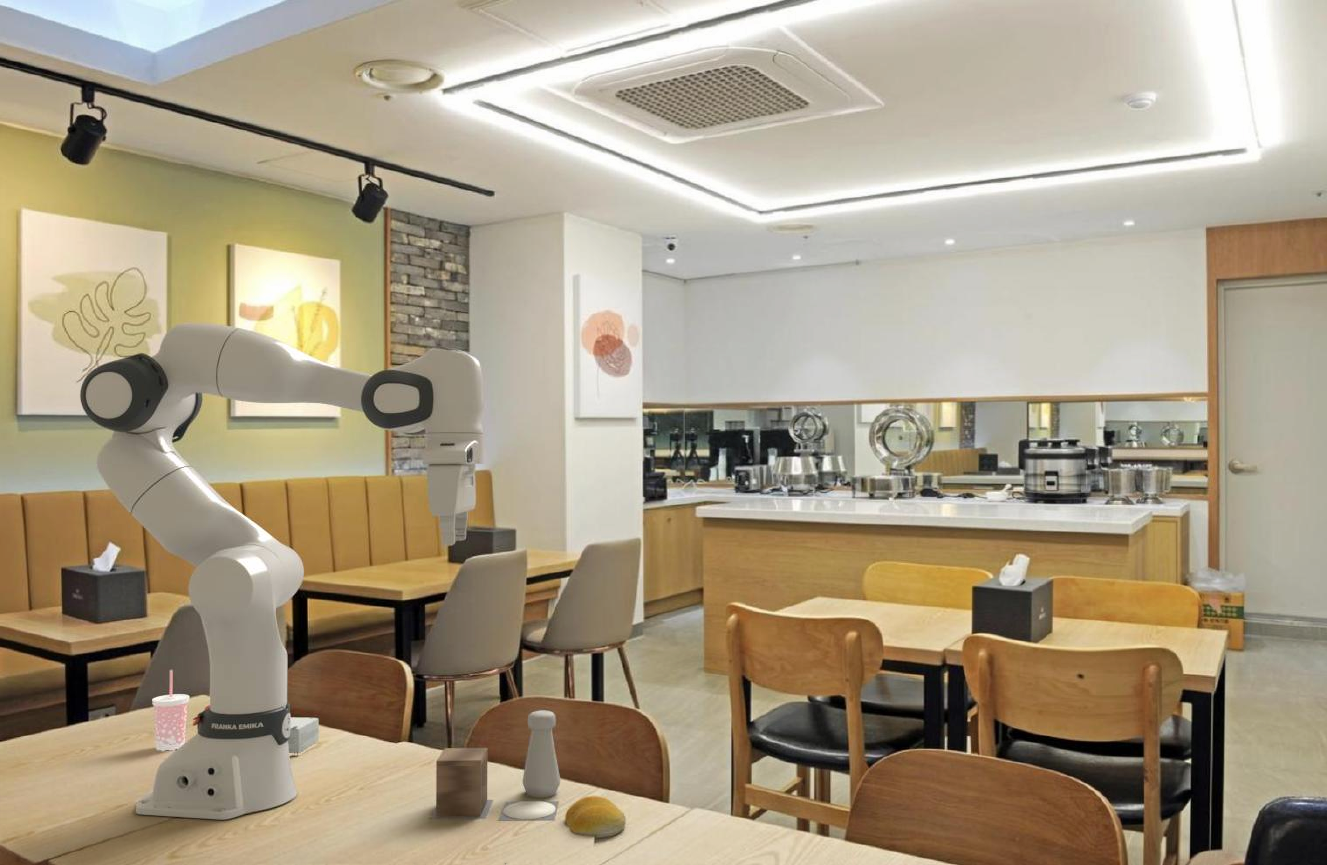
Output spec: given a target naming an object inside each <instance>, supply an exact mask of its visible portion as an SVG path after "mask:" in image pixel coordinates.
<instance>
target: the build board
mask: <svg viewBox="0 0 1327 865" xmlns="http://www.w3.org/2000/svg"><path fill="white" fill-rule="evenodd" d="M559 803H560V802H559V801H558V800H557V801H556V800H555V801H553V800H552V801H551V800H550V801H549V800H547V801H545V800H544V801H542V800H526V801H505V803H504V806H503V807H502V809H501V813H500V815H499V818H498V822H500V821H502V822H505V821H506V822H507V821H509V822H510V821H511V822H512V821H513V822H515V821H516V822H517V821H520V822H521V821H525V822H526V821H555V820H556V815H557V811H558V808H559V807H558V806H559Z"/></svg>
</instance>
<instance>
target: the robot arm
mask: <svg viewBox="0 0 1327 865" xmlns="http://www.w3.org/2000/svg"><path fill="white" fill-rule="evenodd" d="M483 379H484V378H483V372H482V366H481V363H480V361H479V359H478V358H477V356H475V355H474V354H473V353H470V352H468V351H466V350H462V349H458V348H453V347H446V346H435V347H431V348H430V349H429V350H428V351H427V352H426V353H424V354H422V355H421V356H419V357H417V358H416V359H414V360H411V361H409V362H406V363H404V364H401V365H398V366H395V367H390V368H388V369H383V370H380V371H378V372H376V373H374V374H369V373H365V372H360V371H356V370H351V369H348V368H342V367H339V366H335V365H333V364H329V363H327V362H325V361H322V360H319V359H318V358H315V357H313V356H310V354H307V353H305V352H304V351H301V350H299V349H298V348H295V347H294V346H291V345H289V344H287V343H284V342H283V341H280V340H279V339H275V338H274V337H270V336H268V335H265V334H262V333H260V332H257V331H253V330H248V329H245V328H241V327H236V326H231V325H230V326H229V325H223V324H218V323H217V324H214V323H205V322H203V323H202V322H182V323H178V324H176V325H174V326H173V327H171V328H170V329H168V331H167V332H166V333H165V335H164V337H163V338H162V341H161V344H160V346H159V350H158V352H157V353H156V354H154V355H153V356H150V355H148V354H146V353H144V352H143V353H142V352H140V353H137V354H133V355H129V356H127V357H124V358H120V359H119V358H118V359H117V360H116V359H115V360H113V361H109V362H106V363H104V364H101V365H100V366H99V365H98V366H97V367H95V368H94V369H93V370H91V371H90V372H89V373H88V374H87V375H86V377H85V378H84V379H83V382H82V383H81V387H80V394H79V398H80V404H81V406H82V410H83V411H84V413H85V414H86V416H87V417H89V419H90V420H91V421H93V422H94V423H95V424H97V425H99V426H100V427H102V428H104V429H107V430H110V431H113V433H112V435H111V438H109V439H108V440H107V441H106V442H105V443H104V445H103V446H102V447H101V448H100V451H99V452H98V454H97V457H96V468H97V470H98V472H99V474H100V476H101V477H102V480H103V481H104V482H105V484H106V485H107V486H108V488H109V490H110V491H111V492H112V493H113V495H114V497H116V500H118V501H119V502H120V504H122V506H123V507H124V508H125V509H126V510H127V512H128V513H130V514H131V516H132V517H134V518H135V520H136V521H137V522H138V523H139V524H140V525H141V526H142V527H143V528H144V529H145V530H146V531H147V532H148V533H149V534H150V535H151V536H152V537H153V538H154V539H155V540H156V541H157V542H158V543H159V544H160V545H161V546H162V547H163V548H164V549H165V550H166V551H167V552H168V553H169V554H172V555H174V556H176V557H178V558H181V559H183V560H184V561H186V562H188V563H190V564H191V565H192V566H194V567H196V568H195V569H194V570H193V573H192V574H191V575H190V578H189V582H188V589H187V590H188V598H189V600H190V603H191V605H192V607H193V608H194V609H195V611H196V612H197V613H198V615H199V616H200V620H201V623H202V627H203V632H204V635H205V639H206V644H207V645H206V646H207V650H208V657H209V705H207V706H206V707H205V708H204V710H203V711H201V712H199V713H198V714H197V716H195V717H194V718H192V721H193V723H192V726H193V727H195V726H197V728H196V729H197V733H196V734H195V735H193V736H192V737H191V738H190V739H188V740H187V741H186V742H185V743H184V744H183V745H182V746H181V747H180V748H178V749H177V750H174V751H173V752H172V753H171V754H169V755H168V756H167V757H166V758H165V759H163V761H162V762H161V763H160V764H159V766H158V768H157V771H156V774H155V777H154V781H153V788H152V789H151V790H149V791H148V792H146V793H145V794H144V795H143V796H141V797H140V798H139V800H138V801H137V802H136V806H135V813H136V814H137V815H144V816H162V817H174V818H175V817H177V818H189V819H204V820H205V819H206V820H207V819H208V820H220V821H222V820H230V819H234V818H236V817H240V816H242V815H245V814H250V813H254V812H259V811H263V810H268V809H271V808H274V807H278V806H280V805H283V804H286V803H288V802H289V801H292V800H293V799H294V798H295V797H296V796H297V794H298V790H297V786H296V783H295V779H294V774H293V771H292V770H293V769H292V765H291V764H292V763H291V758H290V757H291V756H289V747H288V739H289V736H290V728H291V716H292V715H291V707H290V706H291V703H290V701H288V652H287V649H286V648H285V646H284V645H283V642H282V638H281V636H280V630H279V626H278V621H277V613H276V612H277V611H276V610H277V608H279V607H282V606H284V605H285V604H287V603H288V602H289V601H290V600H291V599H292V598H293V596H294V595H295V594H296V593H297V592H298V590H299V589H300V587H301V586H302V584H303V580H304V575H305V569H304V564H303V561H302V559H301V558H300V555H299V554H298V553H297V552H296V551H295V550H294V549H293V548H291V547H290V546H288V545H286V544H284V543H282V542H280V541H279V540H278V539H276V538H275V537H274V536H272V535H271V534H270V533H268V532H267V531H266V530H265V529H263V528H262V527H261V526H260V525H258V524H257V523H256V522H254V521H252V520H251V519H250V518H249V517H248V516H246V515H244V514H243V513H241V512H240V511H239V510H238V509H237V508H235V507H233V506H232V505H231V504H230V503H229V502H228V501H226V500H225V499H224V498H223V496H221V495H220V494H219V492H217V491H216V490H215V488H213V486H211V485H210V484H209V483H208V482H207V481H206V480H205V478H203V477H202V475H201V474H200V473H198V472H197V471H196V469H194V468H193V467H192V465H191V464H189V463H188V462H187V460H186V459H184V458H183V457H182V456H181V454H180V453H179V452H178V451H177V449H176V448H175V446H174V443H176V442H179V441H181V440H182V439H183V438H184V436H185V434H186V433H187V430H188V428H189V427H190V425H191V424H193V422H194V420H195V419H196V418H197V416H198V415H199V413H200V411H201V408H202V404H203V394H207V395H210V396H217V397H220V398H225V399H229V400H233V401H234V400H235V401H240V402H246V403H258V404H260V403H261V404H294V403H295V404H301V403H302V404H303V403H304V404H306V403H307V404H322V405H323V404H324V405H329V406H333V407H339V408H343V409H348V410H351V411H356V412H361V413H363V414H364V416H365V417H366V418H367V420H368V421H369V422H371V423H372V424H373V425H375V426H377V427H378V428H380V429H383V430H385V431H390V432H397V433H402V434H406V435H409V436H422V435H424V440H425V442H424V449H423V450H422V463H423V465H425V466H427V467H426V482H427V483H426V485H427V497H428V498H427V499H428V507H429V511H430V513H431V514H430V515H432V516H434V517H435V516H436V517H437V516H438V518H439V522H438V524H439V528H440V532H441V544H442V546H445V547H447V546H449V547H451V546H453V545H455V544H456V542H458V541H459V542H462V541H464V540H466V538H467V527H468V520H469V512H470V511H473V510H475V509H476V505H477V503H476V502H477V492H476V490H477V489H476V488H477V487H476V485H477V484H476V465H477V464H484V446H485V445H484V438H485V437H484V429H483V428H484V427H483V424H482V412H483V411H484V410H483V409H484V382H483V381H484V380H483Z"/></svg>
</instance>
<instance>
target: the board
mask: <svg viewBox="0 0 1327 865" xmlns="http://www.w3.org/2000/svg"><path fill="white" fill-rule="evenodd" d="M493 802H494V799H487V803H486V805H485V808H484V810H483V812H482V814H481V816H451V817H436V807H435V808H434V810H433V812H432V814H431V815H430V816H429V820H451V819H453V820H457V819H458V820H460V819H461V820H462V819H472V820H474V819H476V820H477V819H479V820H480V819H482V820H483V819H486V818H487V816H488V814H489V811H490V808H491V806H492V804H493Z"/></svg>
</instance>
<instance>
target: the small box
mask: <svg viewBox="0 0 1327 865" xmlns="http://www.w3.org/2000/svg"><path fill="white" fill-rule="evenodd" d="M319 721H320V720H319V718H318V717H295V716H293V717H291V728H290V736H289V739H288V747H289V753H294V754H295V753H297V754H298V753H301V752H303V751H304V750H306V749H307V748H308V747H310V746H312V745H313V744H315V743H316V742H317V741H318V742H319V734H320V732H319V731H320V730H319Z"/></svg>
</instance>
